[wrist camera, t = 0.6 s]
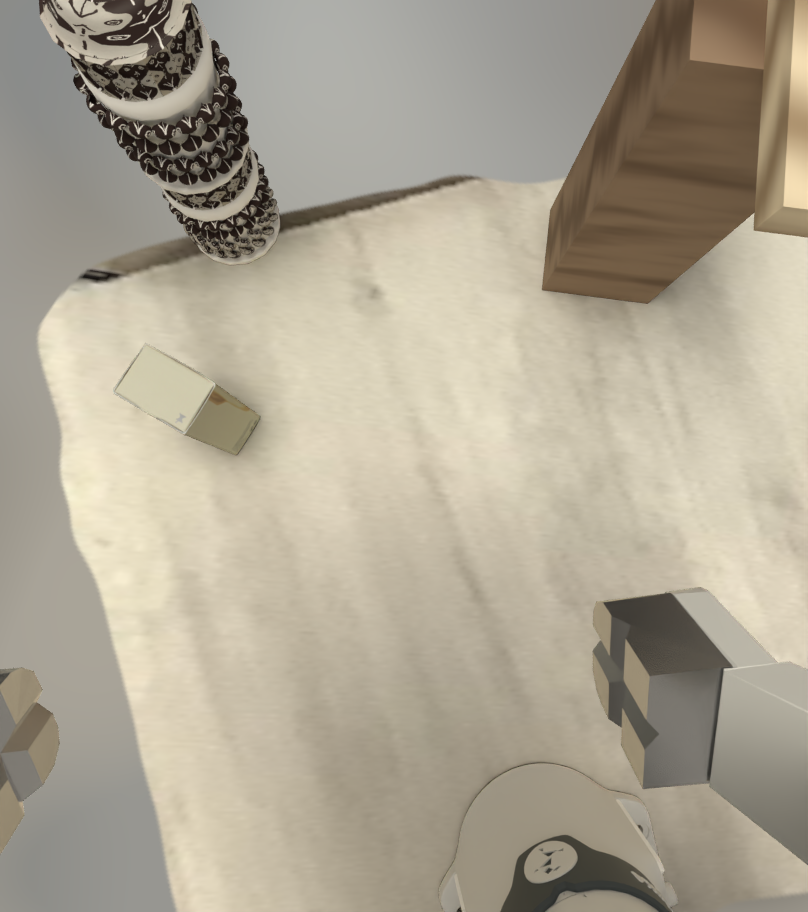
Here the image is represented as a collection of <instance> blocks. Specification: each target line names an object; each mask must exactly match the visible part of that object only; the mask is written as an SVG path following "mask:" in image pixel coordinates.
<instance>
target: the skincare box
mask: <svg viewBox="0 0 808 912" xmlns="http://www.w3.org/2000/svg"><path fill="white" fill-rule="evenodd" d="M113 392H114V394H115V395H117V396H119V397H120V398H122V399H124V400H125V401H127V402H129V403H130V404H132V405H134V406H135V407H137V408H139V409H140V410H142V411H144V412H146V413H147V414H149V415H151V416H153V417H154V418H156V419H158V420H159V421H161V422H163V423H165V424H166V425H168V426H170V427H172V428H173V429H175V430H177V431H179V432H180V433H182V434H184V435H187V436H189V437H191V438H194V439H196V440H199V441H201V442H204V443H207V444H209V445H212V446H214V447H217V448H219V449H222V450H224V451H227V452H229V453H232V454H234V455H237V454H238V452H239V451H240V449H241V448H242V446H243V445H244V443H245V442H246V440H247V439H248V437H249V436H250V434H251V432H252V431H253V429H254V427H255V425H256V424H257V422H258V420H259V418H260V416H259V415H258V414H257V413H255V412H254V411H253V410H251V409H250V408H248V407H247V406H245V405H244V404H243V403H241V402H240V401H239V400H237V399H236V398H234V397H233V396H232V395H230V394H229V393H228V392H226V391H225V390H223V389H222V388H221V387H219V386H218V385H217V384H216V383H214V382H213V381H211V380H210V379H208V378H207V377H205V376H204V375H202V374H201V373H199V372H198V371H196V370H194V369H192V368H191V367H189V366H187V365H186V364H184V363H182V362H180V361H178V360H177V359H175V358H173V357H171V356H169V355H167V354H166V353H164V352H162V351H160V350H158V349H156V348H154V347H152V346H150V345H149V344H144V346H143V347H142V348H141V350H140V351H139V353H138V354H137V355H136V357H135V358H134V360H133V361H132V363H131V364H130V365H129V367H128V368H127V370H126V371H125V373H124V374H123V375H122V377H121V378H120V380H119V381H118V383H117V384H116V386H115V387H114V389H113Z"/></svg>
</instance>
